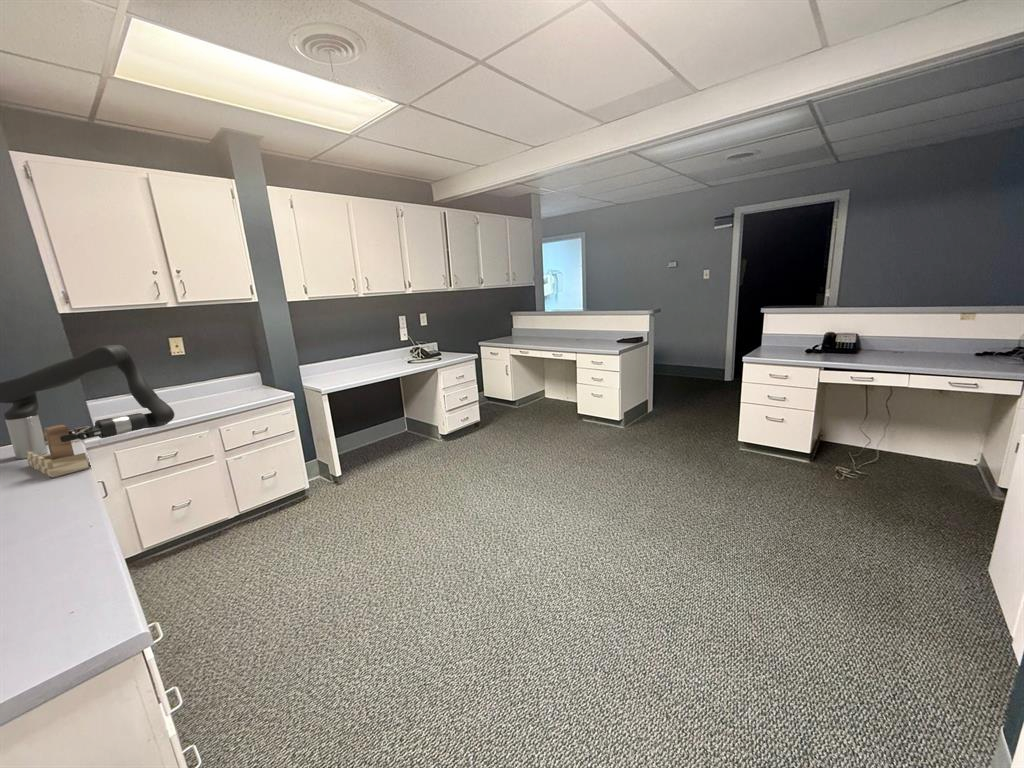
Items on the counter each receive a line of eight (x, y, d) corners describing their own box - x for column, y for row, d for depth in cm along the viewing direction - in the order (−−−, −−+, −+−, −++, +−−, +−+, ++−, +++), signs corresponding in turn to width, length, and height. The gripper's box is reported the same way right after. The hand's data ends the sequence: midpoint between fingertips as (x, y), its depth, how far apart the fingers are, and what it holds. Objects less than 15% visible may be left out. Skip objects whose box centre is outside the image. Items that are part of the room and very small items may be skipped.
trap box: (29, 466, 166) (25, 451, 165) (64, 458, 175) (61, 443, 173) (52, 478, 152) (47, 461, 151) (89, 468, 161) (85, 453, 160)
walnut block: (52, 463, 157) (43, 428, 155) (71, 459, 162) (62, 424, 159) (57, 465, 155) (47, 429, 152) (75, 461, 159) (67, 426, 157)
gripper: (105, 416, 173) (48, 426, 159) (118, 419, 166) (60, 430, 152) (109, 433, 174) (53, 445, 160) (122, 437, 167) (65, 450, 153)
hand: (57, 438), depth 156 cm, fingers open, 8 cm apart
